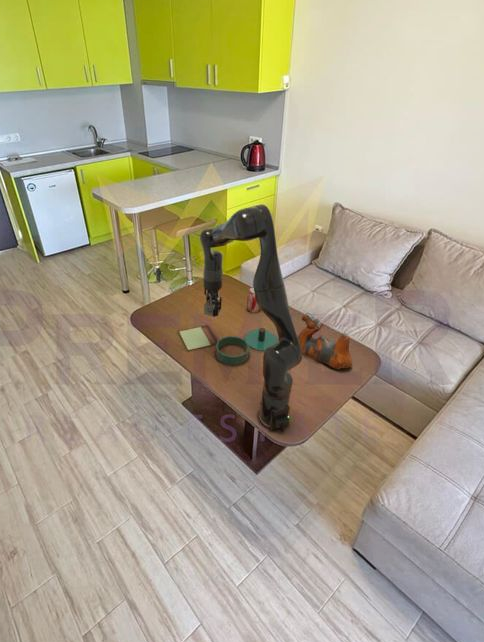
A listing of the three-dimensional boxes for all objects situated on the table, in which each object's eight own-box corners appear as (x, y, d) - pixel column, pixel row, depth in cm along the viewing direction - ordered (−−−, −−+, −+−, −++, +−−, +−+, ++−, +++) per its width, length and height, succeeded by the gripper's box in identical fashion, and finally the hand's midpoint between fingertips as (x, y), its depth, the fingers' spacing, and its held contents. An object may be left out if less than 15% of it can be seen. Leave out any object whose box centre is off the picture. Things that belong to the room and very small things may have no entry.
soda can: (259, 314, 184) (261, 294, 178) (245, 312, 185) (247, 292, 179) (261, 307, 190) (263, 287, 183) (247, 305, 191) (249, 285, 184)
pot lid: (283, 347, 163) (285, 335, 159) (253, 355, 158) (254, 343, 155) (267, 328, 174) (269, 317, 171) (239, 335, 170) (240, 323, 166)
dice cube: (214, 317, 152) (214, 307, 149) (204, 313, 154) (204, 303, 151) (220, 311, 156) (220, 301, 153) (210, 308, 158) (210, 298, 155)
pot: (253, 361, 155) (254, 352, 152) (223, 369, 151) (223, 360, 148) (240, 341, 166) (240, 333, 163) (211, 348, 162) (211, 339, 159)
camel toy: (355, 366, 153) (365, 333, 144) (335, 379, 146) (345, 346, 137) (309, 336, 170) (315, 304, 161) (289, 346, 163) (294, 314, 154)
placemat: (218, 343, 165) (218, 343, 164) (188, 350, 160) (188, 349, 160) (207, 326, 176) (207, 325, 175) (179, 332, 171) (179, 331, 171)
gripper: (198, 269, 150) (198, 303, 159) (210, 286, 138) (209, 322, 147) (215, 267, 152) (214, 300, 161) (228, 283, 141) (226, 318, 150)
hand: (212, 310), depth 154 cm, fingers closed on dice cube, 7 cm apart
